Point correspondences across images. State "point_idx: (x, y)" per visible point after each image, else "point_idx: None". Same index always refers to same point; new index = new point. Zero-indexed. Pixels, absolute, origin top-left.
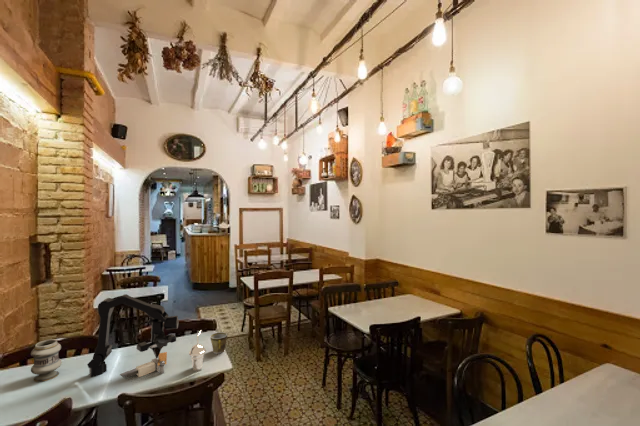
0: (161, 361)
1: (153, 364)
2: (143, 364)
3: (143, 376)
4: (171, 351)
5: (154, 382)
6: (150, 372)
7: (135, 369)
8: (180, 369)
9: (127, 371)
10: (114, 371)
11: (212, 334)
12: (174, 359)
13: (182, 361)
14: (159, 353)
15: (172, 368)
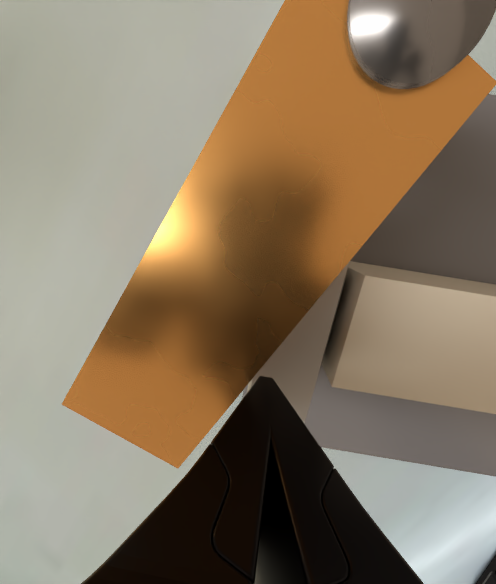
0: (411, 48)
1: (392, 279)
2: (467, 398)
3: (472, 258)
4: (29, 464)
5: (488, 40)
6: (383, 266)
7: (391, 442)
8: (129, 51)
9: (444, 466)
10: (442, 539)
11: None
12: (70, 329)
13: (31, 221)
14: (174, 457)
15: (174, 173)
